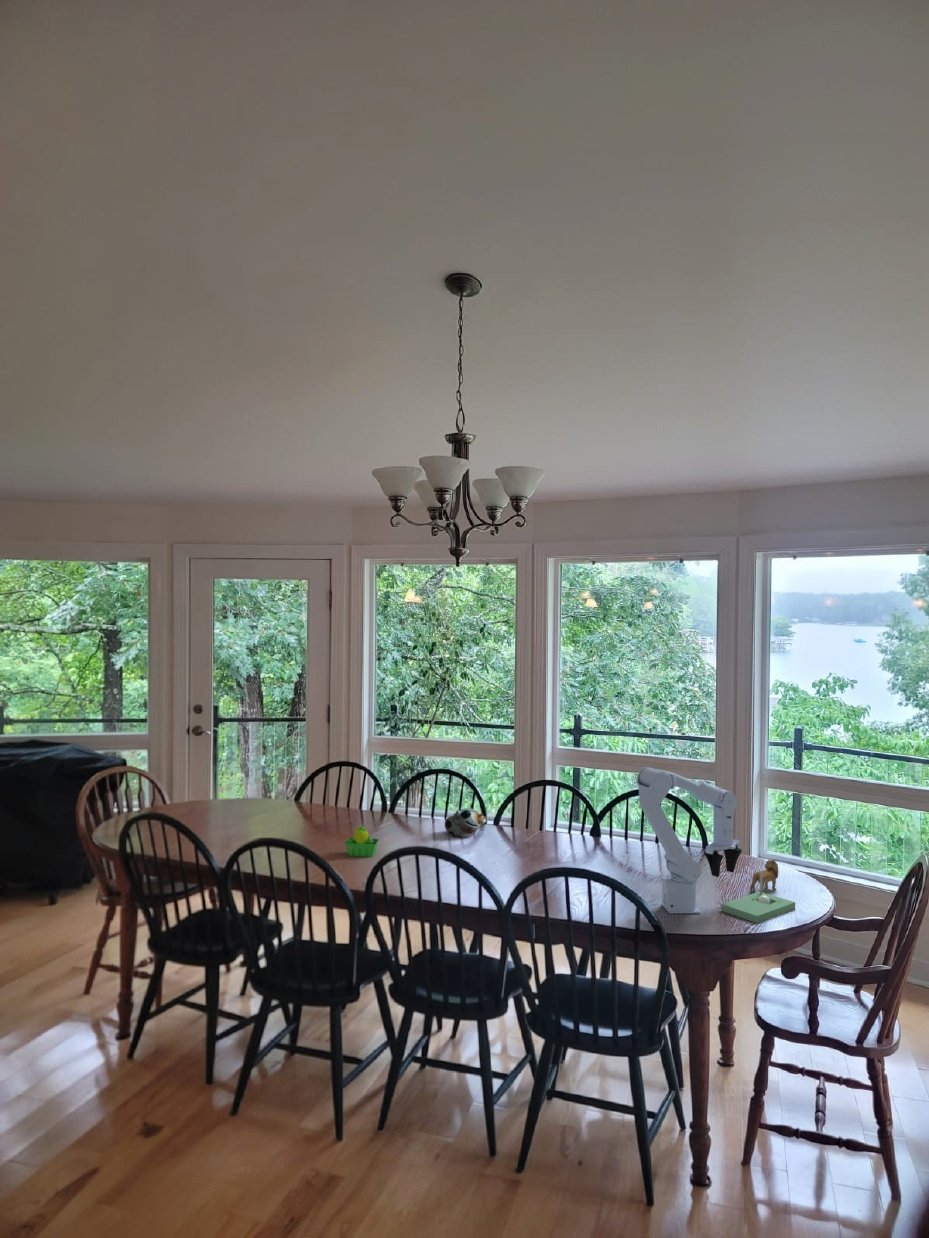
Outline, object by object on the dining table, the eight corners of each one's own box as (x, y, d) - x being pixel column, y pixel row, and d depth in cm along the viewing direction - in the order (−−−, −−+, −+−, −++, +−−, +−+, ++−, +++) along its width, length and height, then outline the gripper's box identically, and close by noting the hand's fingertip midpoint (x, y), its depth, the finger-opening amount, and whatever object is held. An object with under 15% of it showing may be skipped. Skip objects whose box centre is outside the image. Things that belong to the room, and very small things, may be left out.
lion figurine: (766, 883, 257) (766, 856, 257) (782, 887, 253) (782, 860, 254) (746, 893, 247) (746, 865, 247) (762, 898, 243) (762, 869, 243)
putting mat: (757, 922, 222) (757, 891, 222) (721, 910, 231) (721, 880, 231) (798, 907, 234) (798, 877, 235) (762, 896, 244) (762, 868, 244)
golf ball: (770, 901, 236) (766, 911, 234) (759, 894, 237) (754, 904, 236) (773, 897, 233) (768, 907, 232) (761, 891, 235) (757, 901, 233)
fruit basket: (379, 852, 289) (379, 821, 289) (374, 859, 280) (374, 827, 280) (349, 851, 290) (349, 820, 290) (343, 857, 281) (343, 826, 281)
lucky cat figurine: (474, 829, 324) (487, 802, 320) (478, 847, 313) (491, 820, 309) (441, 820, 321) (453, 793, 316) (444, 839, 309) (457, 811, 305)
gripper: (720, 835, 229) (719, 881, 229) (748, 828, 238) (748, 872, 238) (700, 830, 235) (699, 875, 235) (728, 823, 244) (728, 867, 243)
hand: (722, 873), depth 237 cm, fingers open, 7 cm apart
